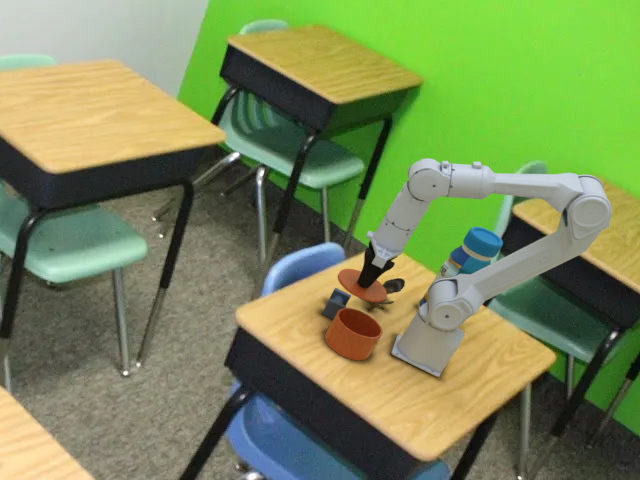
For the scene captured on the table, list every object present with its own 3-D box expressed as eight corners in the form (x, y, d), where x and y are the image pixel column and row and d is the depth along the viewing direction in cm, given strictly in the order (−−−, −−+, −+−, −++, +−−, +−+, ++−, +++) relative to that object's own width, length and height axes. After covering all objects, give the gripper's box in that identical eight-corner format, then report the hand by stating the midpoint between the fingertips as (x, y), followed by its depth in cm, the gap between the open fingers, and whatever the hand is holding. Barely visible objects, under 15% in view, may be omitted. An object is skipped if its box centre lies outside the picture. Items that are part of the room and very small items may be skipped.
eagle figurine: (396, 319, 186) (409, 295, 191) (391, 289, 182) (404, 265, 188) (358, 318, 190) (371, 294, 196) (352, 288, 187) (366, 265, 193)
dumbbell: (327, 300, 187) (335, 287, 185) (343, 308, 186) (351, 295, 184) (321, 313, 182) (328, 300, 180) (337, 321, 181) (345, 308, 179)
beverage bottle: (444, 331, 189) (497, 251, 177) (409, 308, 193) (459, 228, 181) (462, 321, 194) (514, 242, 183) (427, 298, 199) (477, 220, 187)
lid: (387, 290, 178) (399, 271, 175) (379, 311, 171) (391, 292, 168) (341, 267, 180) (352, 248, 178) (331, 287, 173) (342, 268, 170)
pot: (372, 345, 178) (386, 323, 175) (364, 367, 171) (378, 344, 168) (330, 323, 180) (342, 302, 177) (320, 344, 173) (332, 322, 170)
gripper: (385, 198, 173) (351, 257, 181) (372, 226, 162) (337, 288, 170) (421, 215, 172) (385, 273, 180) (411, 245, 160) (373, 306, 168)
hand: (364, 282), depth 175 cm, fingers closed on lid, 2 cm apart
